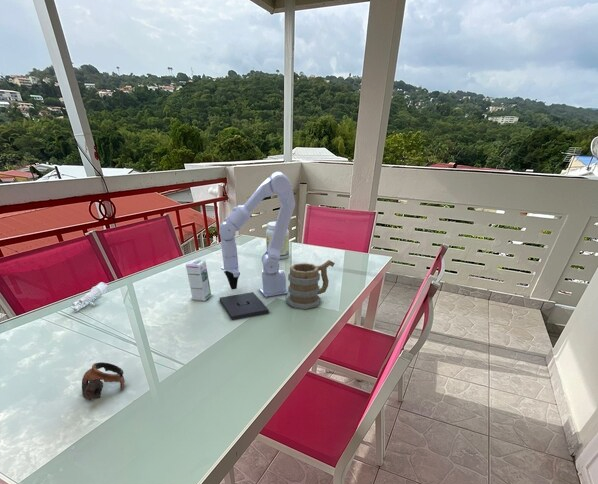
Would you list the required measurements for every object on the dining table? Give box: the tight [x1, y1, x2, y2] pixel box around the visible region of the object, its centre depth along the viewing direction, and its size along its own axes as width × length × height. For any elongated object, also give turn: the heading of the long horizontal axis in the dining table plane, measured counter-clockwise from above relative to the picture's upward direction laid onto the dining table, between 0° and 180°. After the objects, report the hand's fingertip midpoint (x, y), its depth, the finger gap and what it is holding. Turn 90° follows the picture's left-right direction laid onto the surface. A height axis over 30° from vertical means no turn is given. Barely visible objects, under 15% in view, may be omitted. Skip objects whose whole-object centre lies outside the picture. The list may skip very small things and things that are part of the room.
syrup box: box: [185, 259, 212, 302], centre depth 130 cm, size 6×6×14 cm
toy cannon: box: [71, 281, 110, 313], centre depth 126 cm, size 8×14×5 cm
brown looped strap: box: [81, 361, 126, 401], centre depth 83 cm, size 12×10×8 cm
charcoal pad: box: [224, 298, 269, 321], centre depth 124 cm, size 14×10×2 cm
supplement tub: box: [265, 221, 290, 260], centre depth 175 cm, size 12×12×17 cm
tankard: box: [286, 259, 335, 310], centre depth 129 cm, size 20×13×15 cm, turn 117°
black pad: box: [219, 291, 260, 309], centre depth 130 cm, size 14×10×2 cm
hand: (233, 288), depth 136 cm, fingers closed
